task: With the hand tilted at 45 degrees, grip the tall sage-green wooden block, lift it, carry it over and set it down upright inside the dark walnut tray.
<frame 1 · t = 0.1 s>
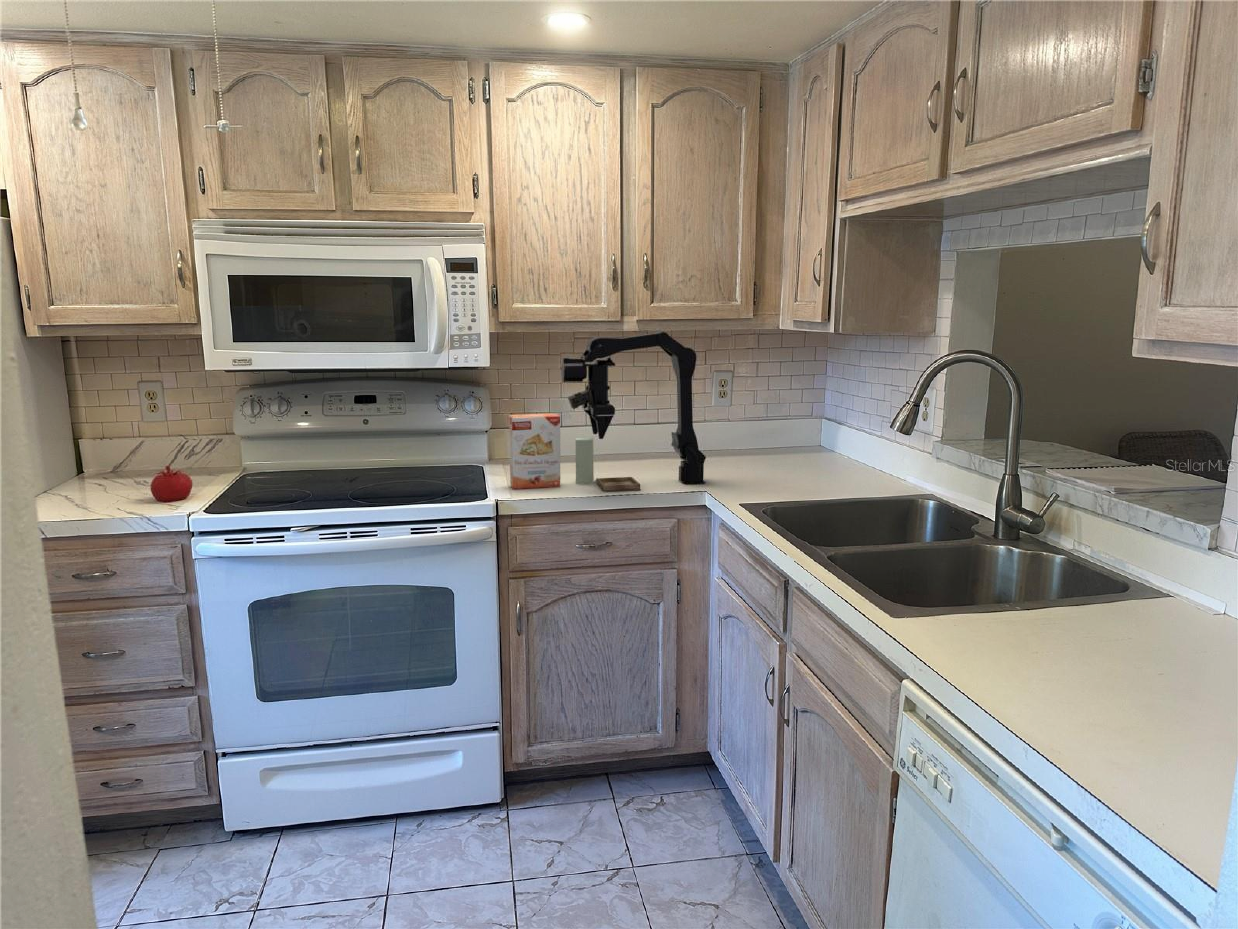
hand: (598, 436, 236), 15 cm above the counter, tool pointing down, fingers open, 9 cm apart
pomegranate: (173, 499, 223), on the counter
sage wooden block: (584, 482, 245), on the counter
cracker box: (535, 487, 239), on the counter
walnut tray: (617, 487, 237), on the counter
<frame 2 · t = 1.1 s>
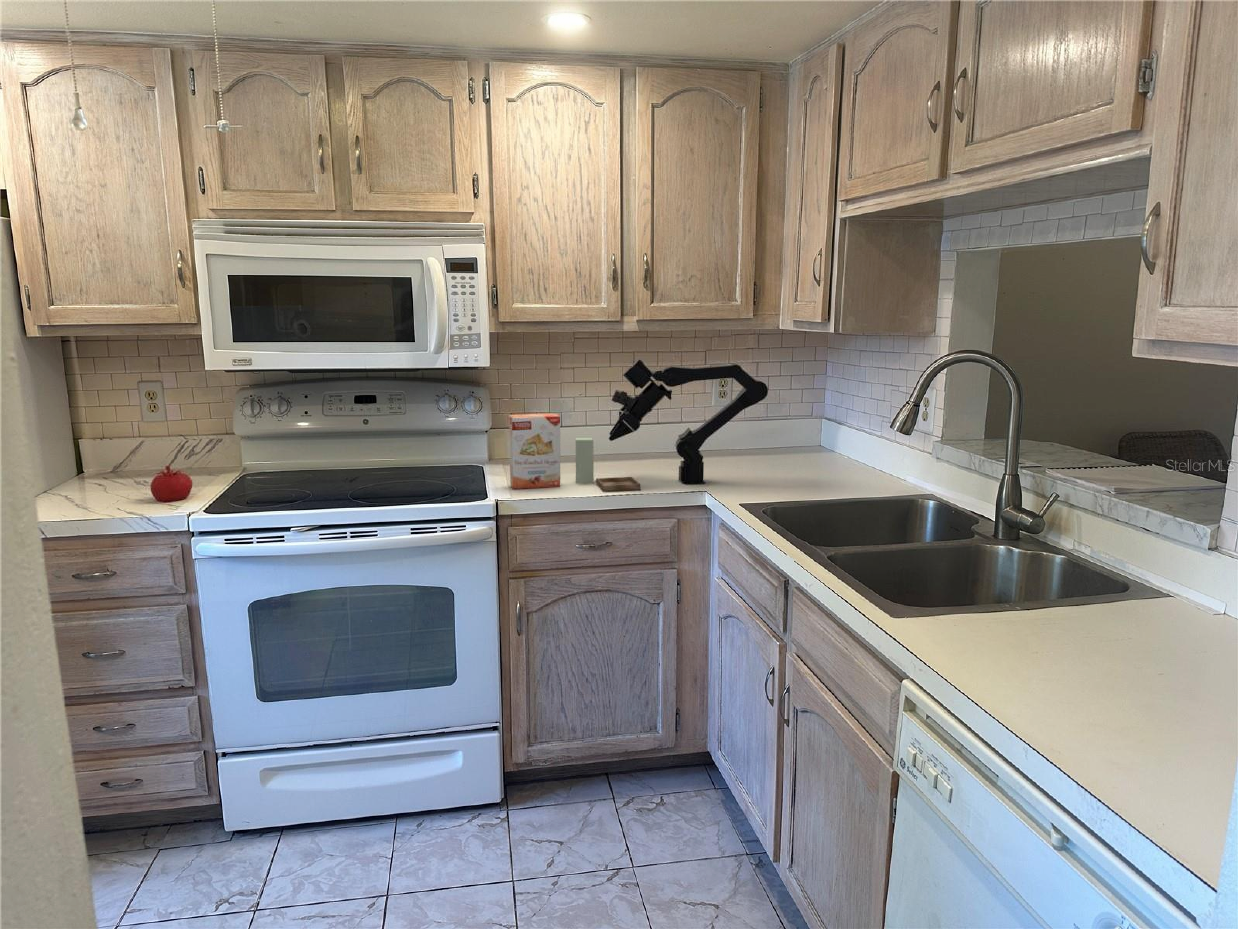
hand: (610, 437, 242), 13 cm above the counter, tool tilted 45°, fingers open, 9 cm apart
nothing on the counter moved.
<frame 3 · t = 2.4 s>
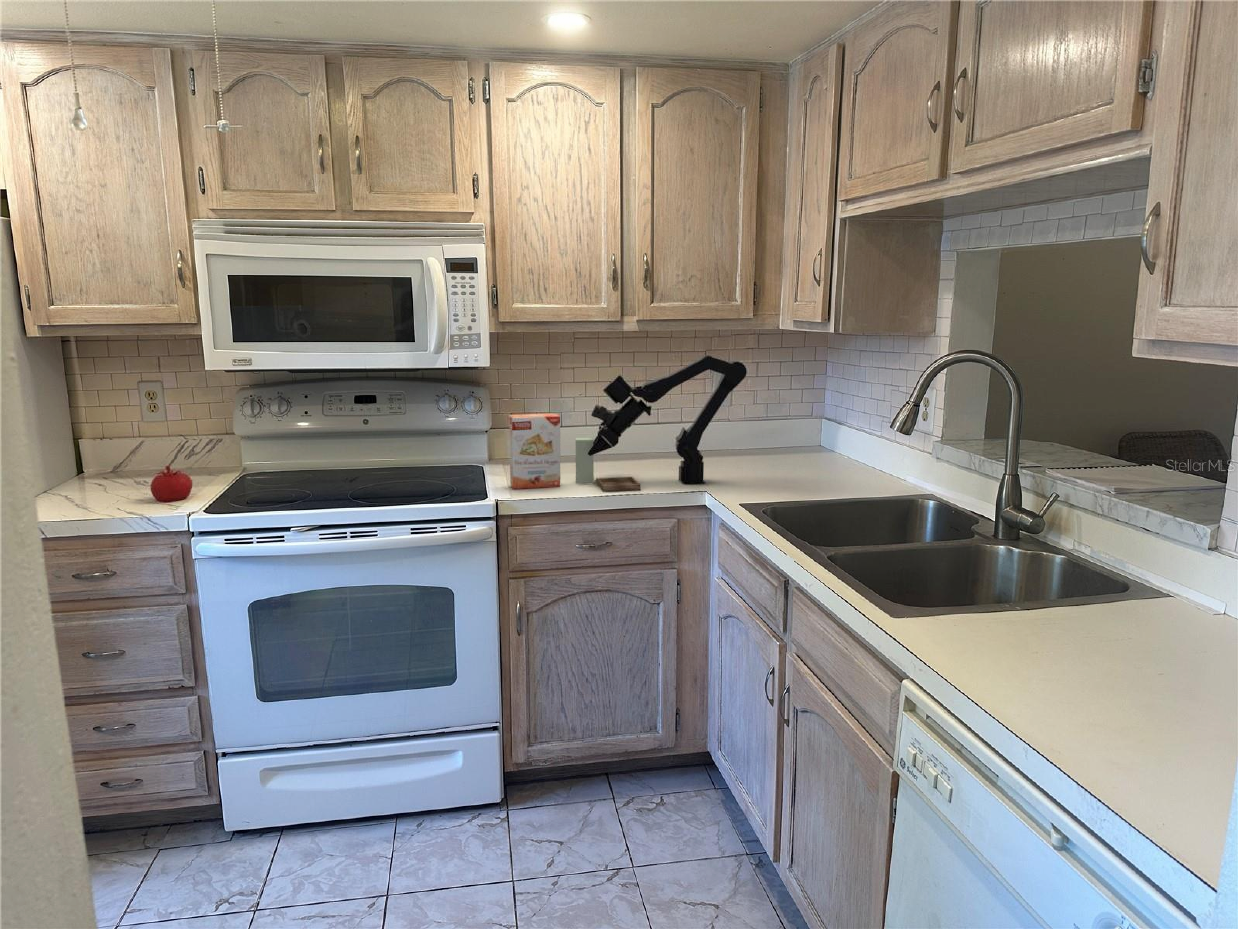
hand: (589, 452, 243), 9 cm above the counter, tool tilted 45°, fingers open, 9 cm apart
nothing on the counter moved.
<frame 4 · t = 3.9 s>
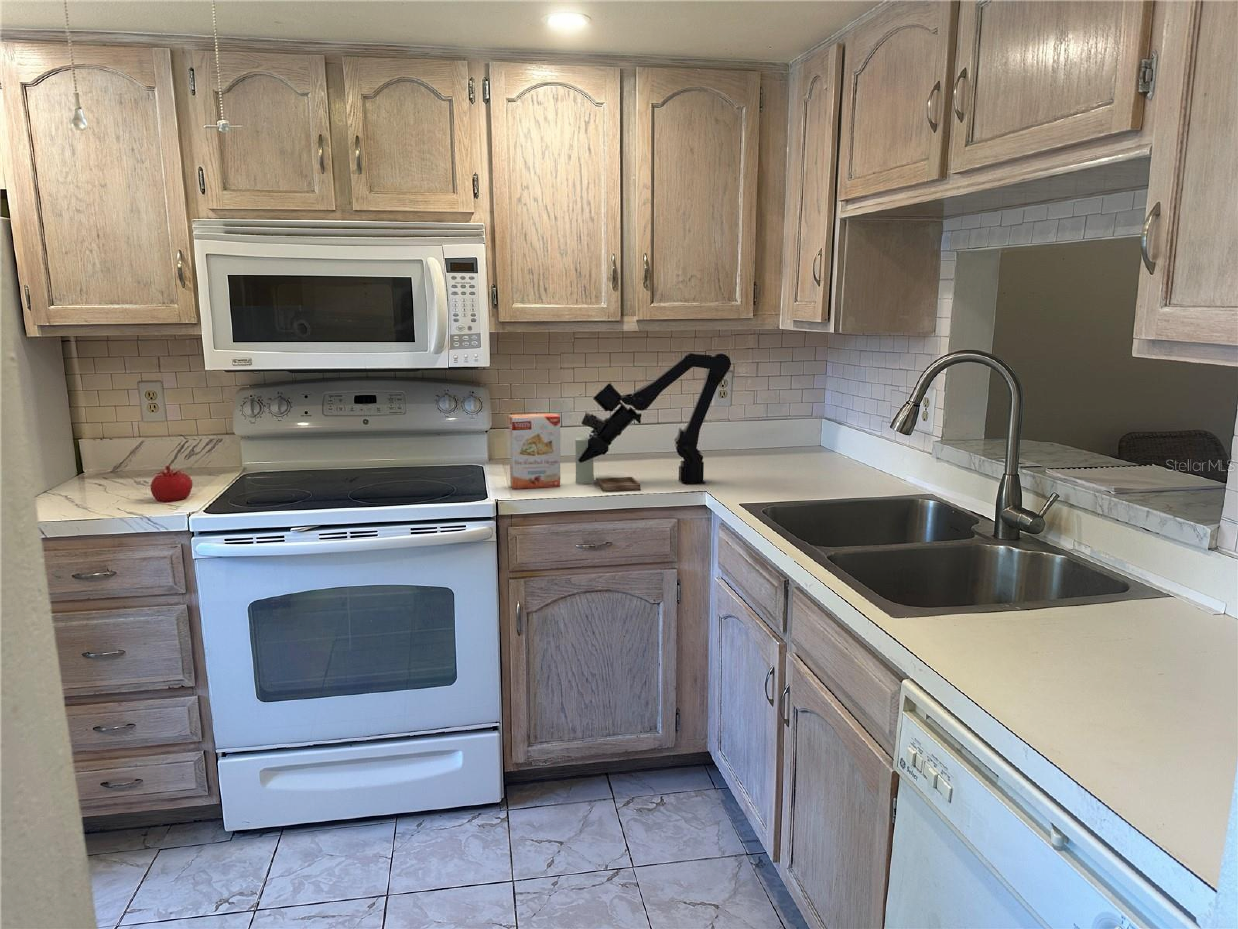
hand: (579, 459, 243), 7 cm above the counter, tool tilted 45°, fingers closed on sage wooden block, 5 cm apart
sage wooden block: (584, 481, 245), on the counter, touching gripper
everything else where it was.
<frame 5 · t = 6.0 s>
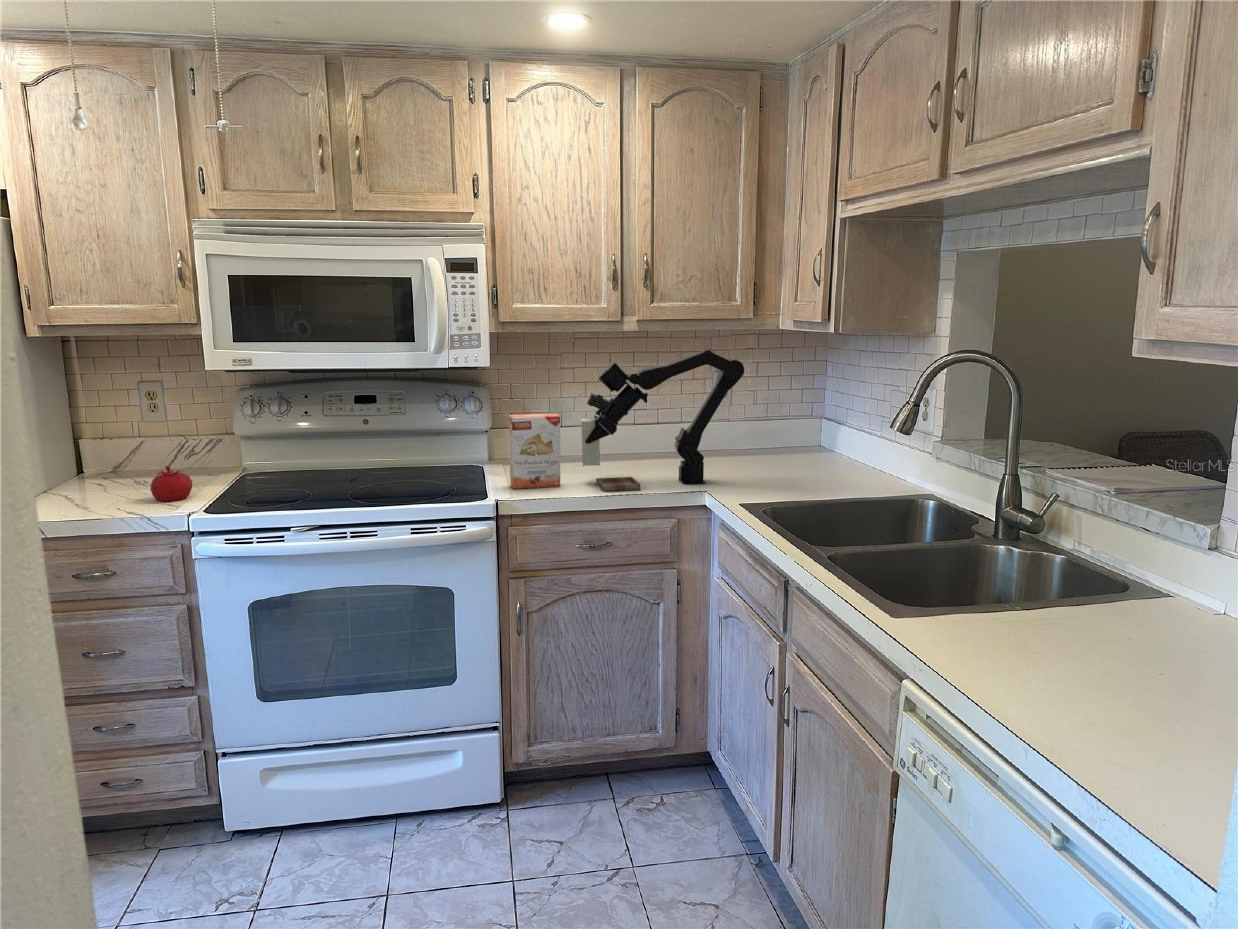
hand: (585, 441, 240), 13 cm above the counter, tool tilted 45°, fingers closed on sage wooden block, 5 cm apart
sage wooden block: (591, 463, 242), point 6 cm above the counter, touching gripper
everything else where it was.
when the fingers open (9 cm above the counter, at t = 8.1 s): sage wooden block drops 1 cm, resting on walnut tray.
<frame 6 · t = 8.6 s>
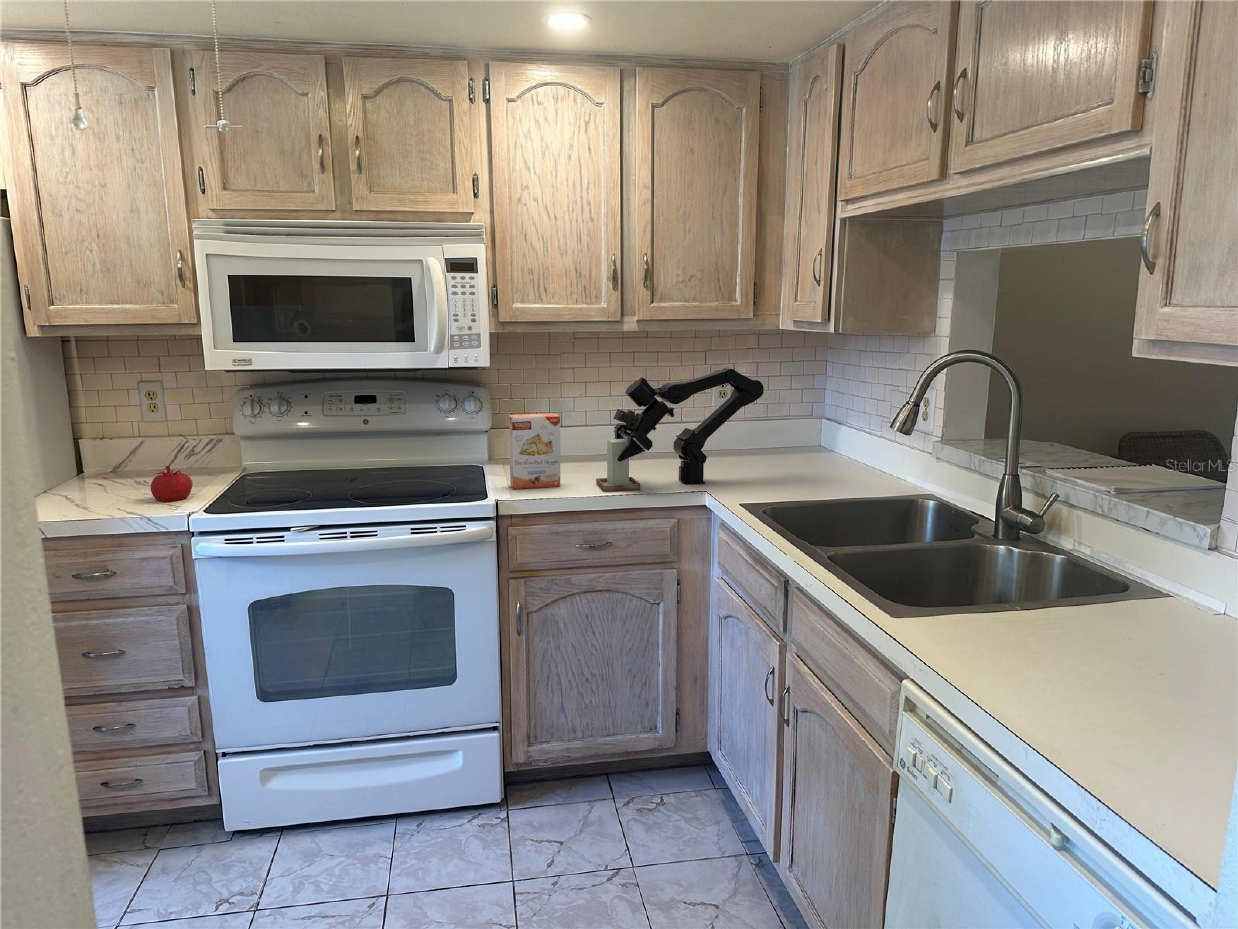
hand: (613, 458, 235), 9 cm above the counter, tool tilted 45°, fingers open, 9 cm apart
sage wooden block: (618, 485, 237), point 1 cm above the counter, touching walnut tray
everything else where it was.
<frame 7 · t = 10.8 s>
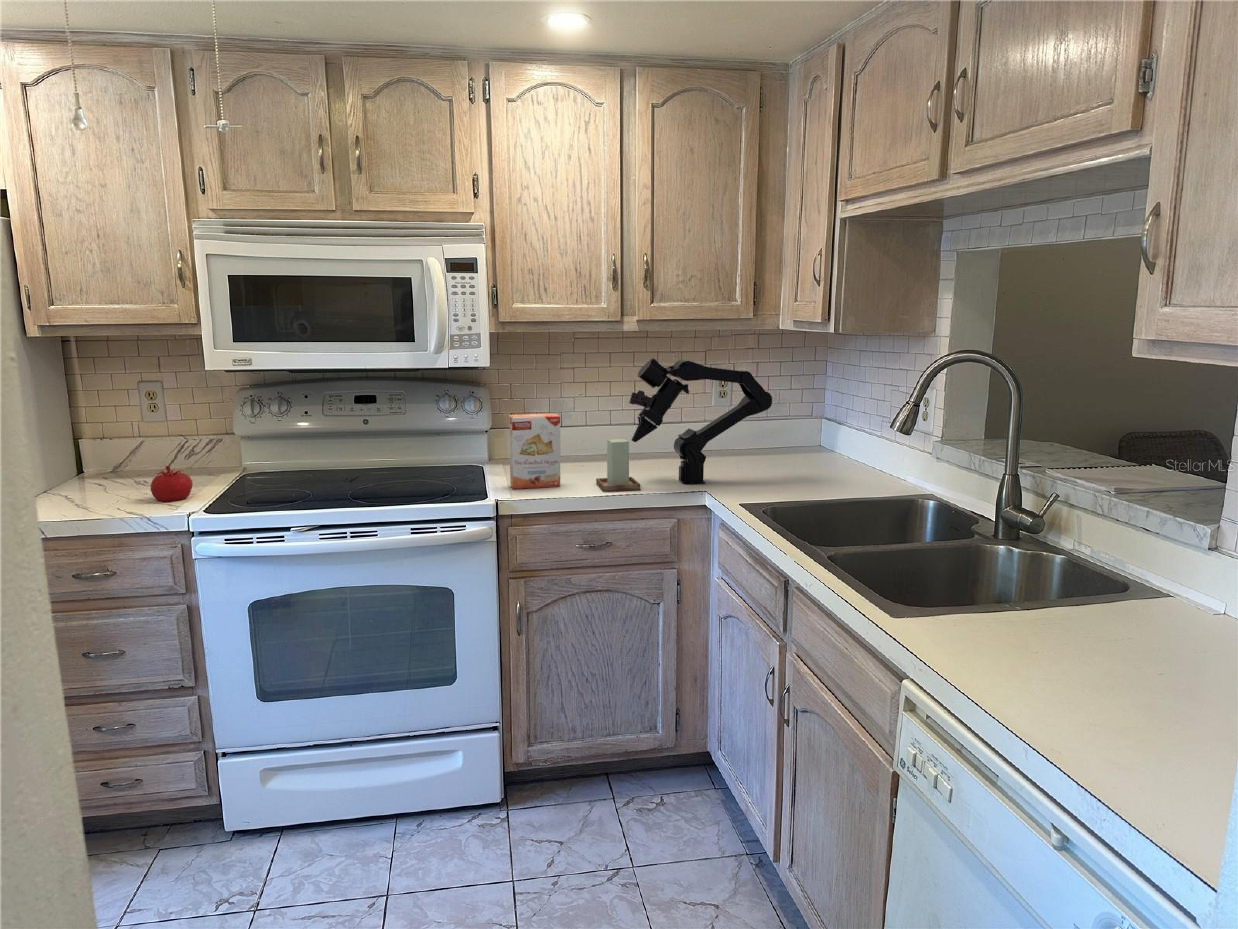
hand: (633, 441, 238), 13 cm above the counter, tool tilted 35°, fingers open, 9 cm apart
nothing on the counter moved.
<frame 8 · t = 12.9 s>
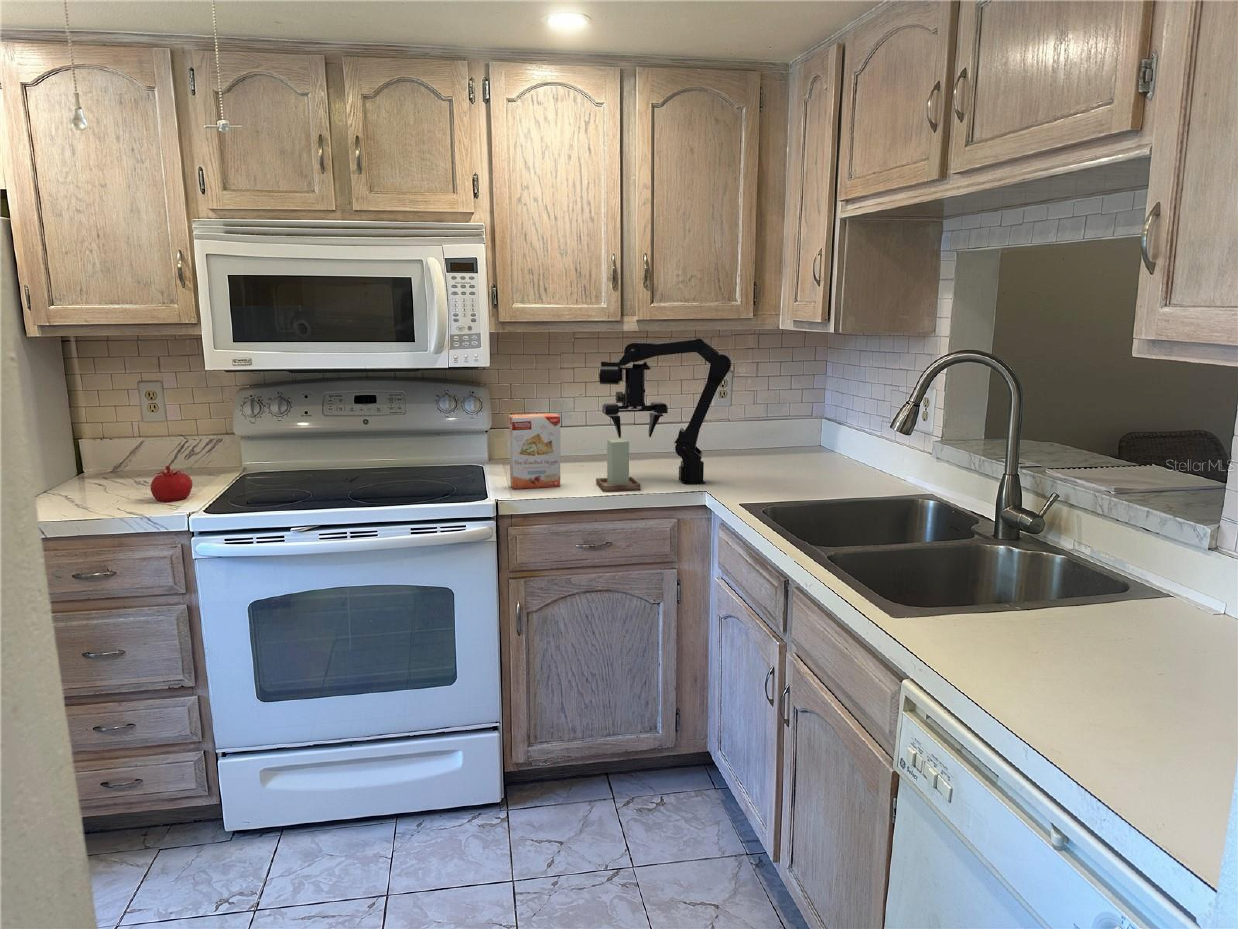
hand: (634, 437, 244), 13 cm above the counter, tool pointing down, fingers open, 9 cm apart
nothing on the counter moved.
at the end: sage wooden block 0.0 cm off-centre on the walnut tray, point 0.6 cm above the walnut tray's base; sage wooden block tilted 0°; the gripper is holding nothing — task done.
